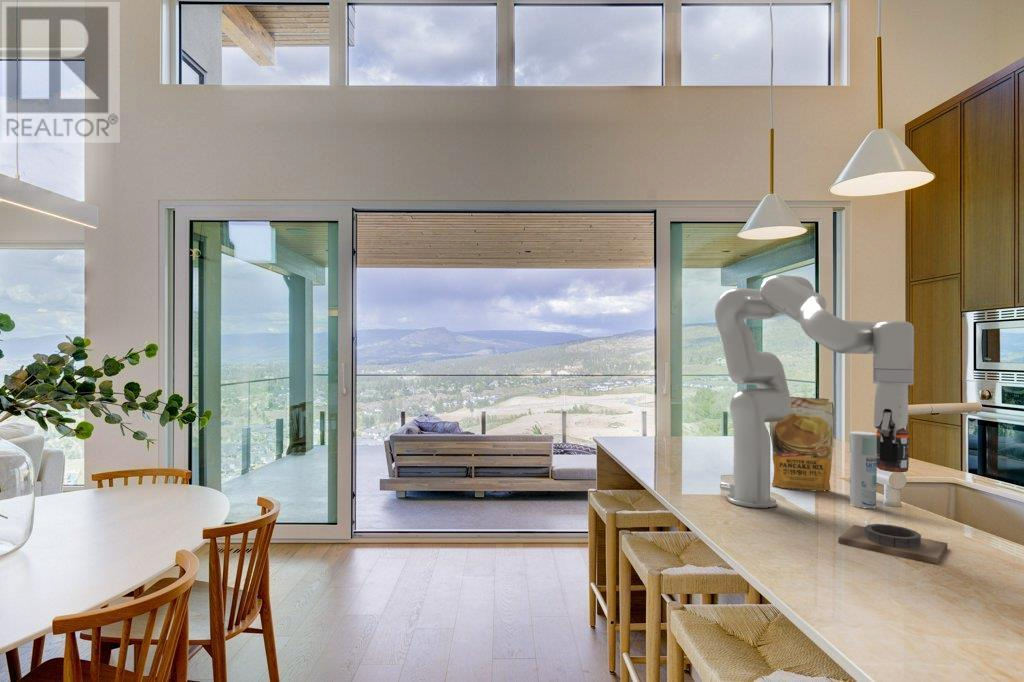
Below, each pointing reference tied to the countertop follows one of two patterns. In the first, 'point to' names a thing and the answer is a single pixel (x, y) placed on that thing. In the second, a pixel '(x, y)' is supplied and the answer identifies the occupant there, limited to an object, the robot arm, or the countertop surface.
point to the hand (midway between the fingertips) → (892, 458)
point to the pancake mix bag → (804, 445)
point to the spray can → (863, 469)
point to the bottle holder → (894, 542)
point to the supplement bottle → (902, 452)
